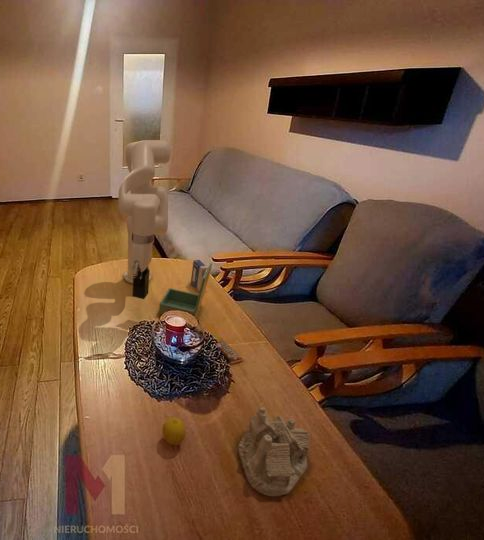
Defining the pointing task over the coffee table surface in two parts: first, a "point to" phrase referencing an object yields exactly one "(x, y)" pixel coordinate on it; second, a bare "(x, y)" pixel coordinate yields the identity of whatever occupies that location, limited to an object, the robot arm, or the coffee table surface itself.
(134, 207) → the robot arm
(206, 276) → the lid
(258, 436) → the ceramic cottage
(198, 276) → the walkman
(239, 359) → the chocolate bar
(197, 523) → the coffee table surface
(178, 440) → the lemon
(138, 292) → the iron block
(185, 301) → the green shallow box
